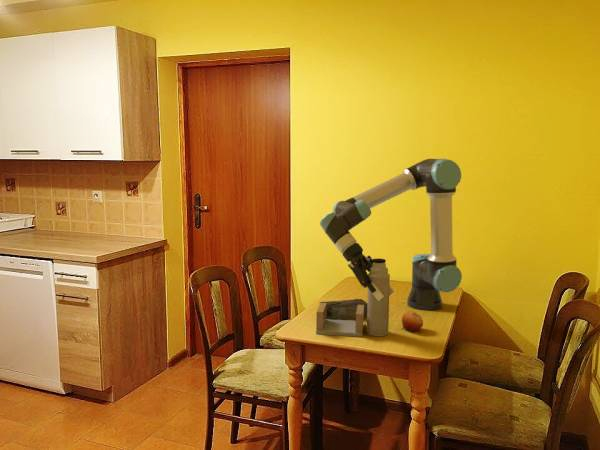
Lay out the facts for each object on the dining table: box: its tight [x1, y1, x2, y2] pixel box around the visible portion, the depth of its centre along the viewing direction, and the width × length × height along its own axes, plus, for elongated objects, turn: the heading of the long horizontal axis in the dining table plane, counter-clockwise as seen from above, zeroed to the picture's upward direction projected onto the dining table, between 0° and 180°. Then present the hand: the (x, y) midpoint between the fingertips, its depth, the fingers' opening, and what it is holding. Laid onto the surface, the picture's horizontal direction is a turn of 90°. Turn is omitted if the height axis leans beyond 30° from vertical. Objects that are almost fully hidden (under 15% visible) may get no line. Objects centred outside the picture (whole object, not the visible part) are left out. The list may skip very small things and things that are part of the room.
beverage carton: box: [319, 298, 367, 320], centre depth 213 cm, size 8×19×7 cm, turn 103°
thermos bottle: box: [366, 258, 391, 337], centre depth 191 cm, size 8×8×28 cm
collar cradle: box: [315, 303, 365, 338], centre depth 197 cm, size 17×14×8 cm
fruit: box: [401, 310, 424, 333], centre depth 197 cm, size 8×8×8 cm
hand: (386, 296), depth 189 cm, fingers closed on thermos bottle, 8 cm apart
